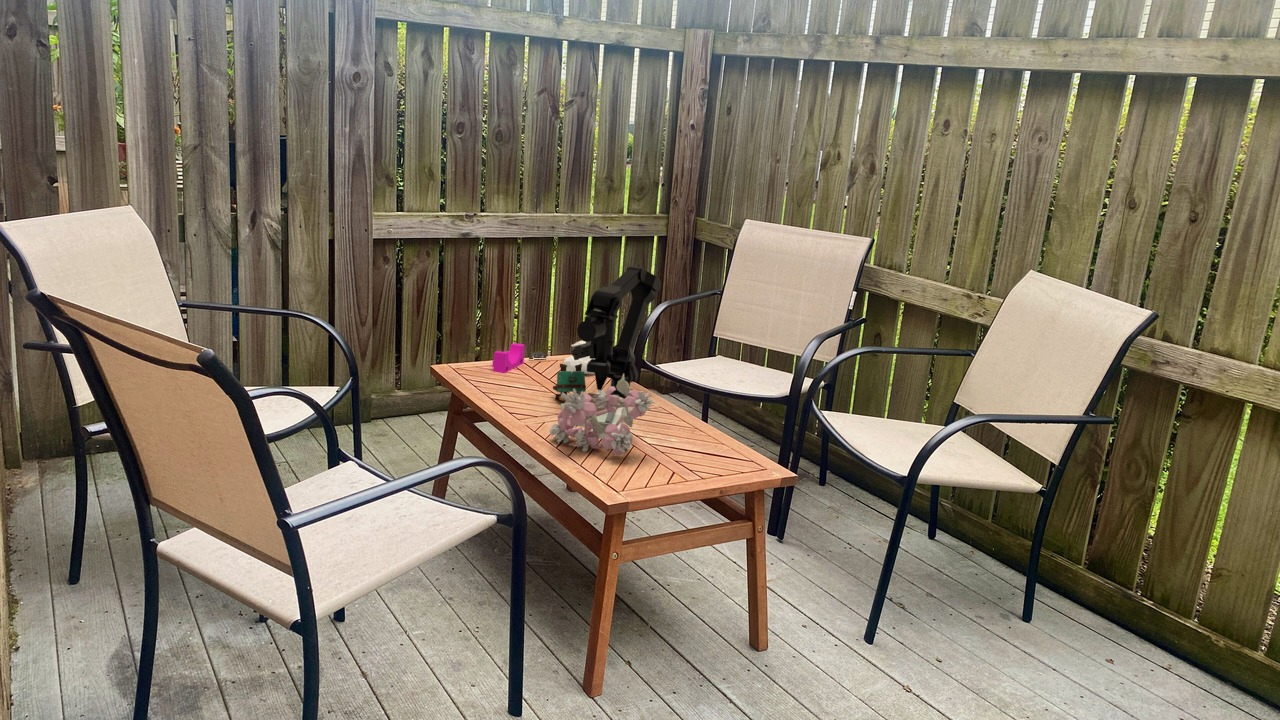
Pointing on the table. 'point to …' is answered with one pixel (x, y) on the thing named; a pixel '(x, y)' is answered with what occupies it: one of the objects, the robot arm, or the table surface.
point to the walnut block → (596, 402)
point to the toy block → (508, 358)
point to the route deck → (606, 419)
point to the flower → (587, 415)
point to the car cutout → (537, 356)
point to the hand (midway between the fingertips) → (599, 389)
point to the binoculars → (569, 381)
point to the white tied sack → (577, 361)
